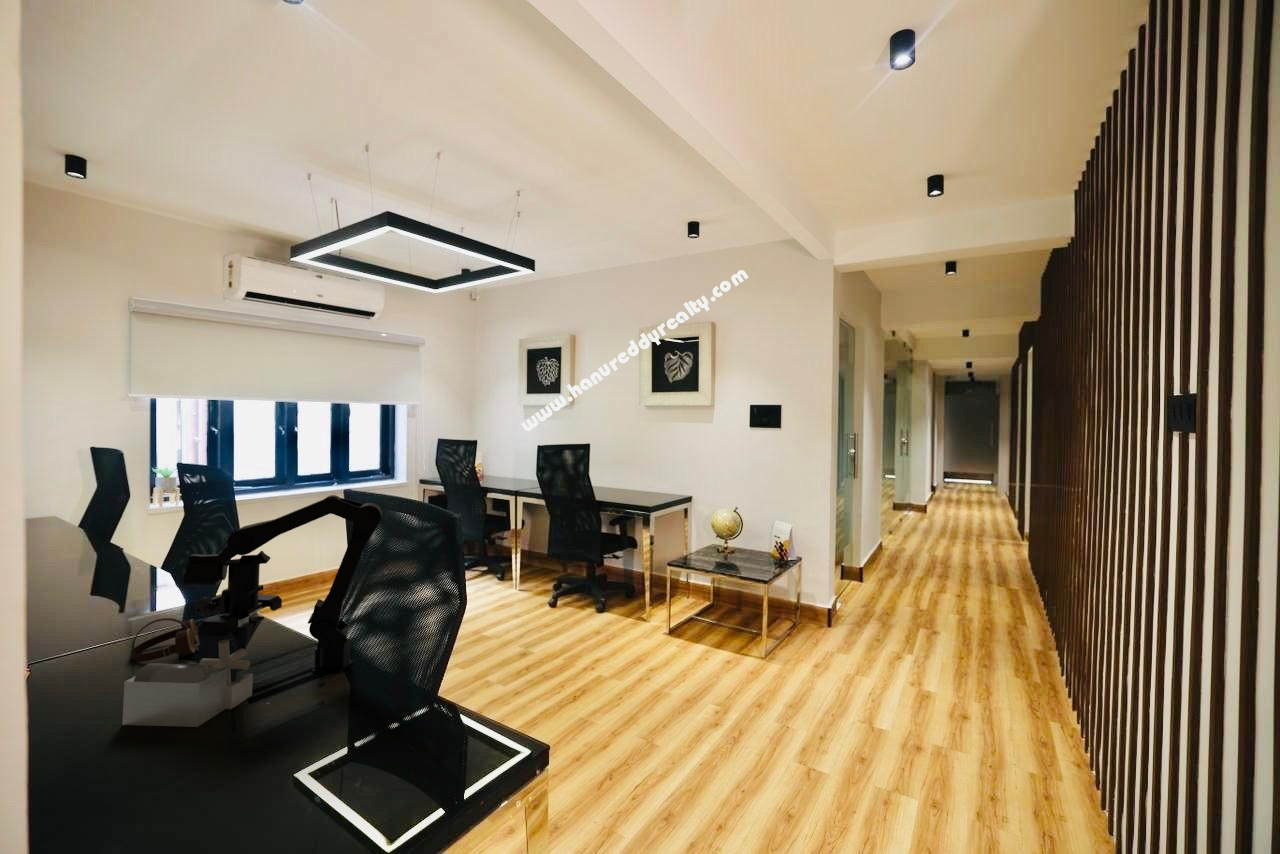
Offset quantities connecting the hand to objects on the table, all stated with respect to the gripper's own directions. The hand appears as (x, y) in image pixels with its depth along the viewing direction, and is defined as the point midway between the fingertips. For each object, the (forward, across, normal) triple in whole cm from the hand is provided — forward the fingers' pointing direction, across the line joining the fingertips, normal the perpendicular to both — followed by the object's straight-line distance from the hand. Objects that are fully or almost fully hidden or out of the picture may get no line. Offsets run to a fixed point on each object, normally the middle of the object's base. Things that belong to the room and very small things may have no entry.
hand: (241, 651), depth 126 cm
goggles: (+7, -12, -28) cm, 31 cm away
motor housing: (+5, +15, +1) cm, 16 cm away
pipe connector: (+6, +5, 0) cm, 7 cm away
